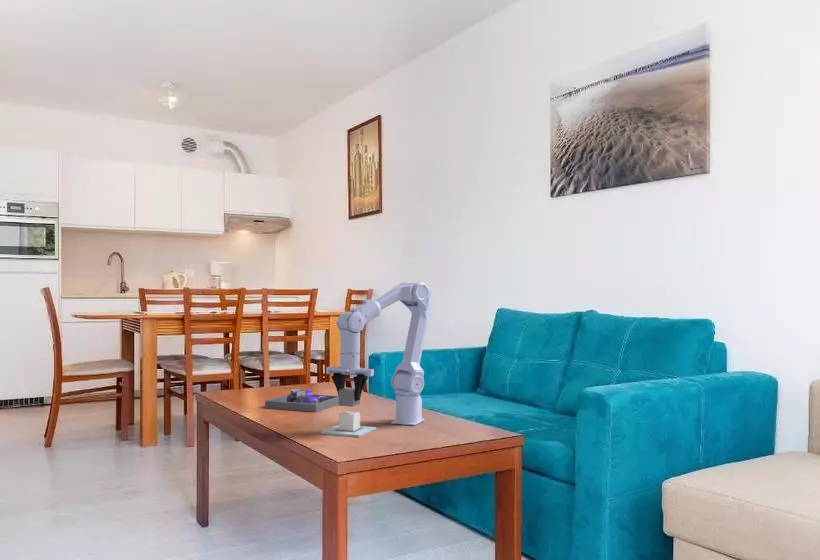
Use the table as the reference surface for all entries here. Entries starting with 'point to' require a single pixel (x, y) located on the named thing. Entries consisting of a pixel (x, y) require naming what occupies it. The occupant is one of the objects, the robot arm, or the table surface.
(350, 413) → the cream block
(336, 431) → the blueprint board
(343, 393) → the charcoal block
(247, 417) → the table surface
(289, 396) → the toy race car
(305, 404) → the car parking frame
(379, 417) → the table surface
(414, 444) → the table surface
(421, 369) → the robot arm
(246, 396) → the table surface
